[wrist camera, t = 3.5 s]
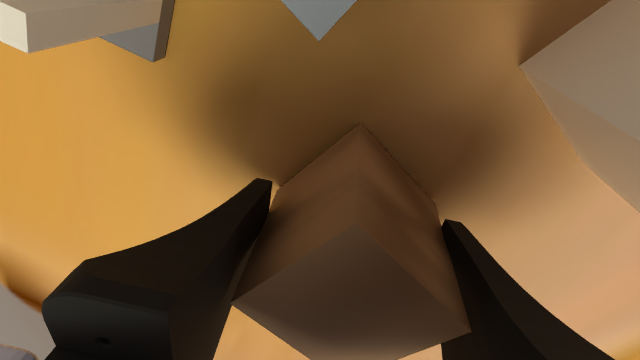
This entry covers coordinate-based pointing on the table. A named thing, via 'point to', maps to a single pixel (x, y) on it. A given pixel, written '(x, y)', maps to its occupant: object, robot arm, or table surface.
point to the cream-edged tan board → (87, 24)
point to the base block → (318, 13)
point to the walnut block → (353, 261)
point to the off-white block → (597, 92)
